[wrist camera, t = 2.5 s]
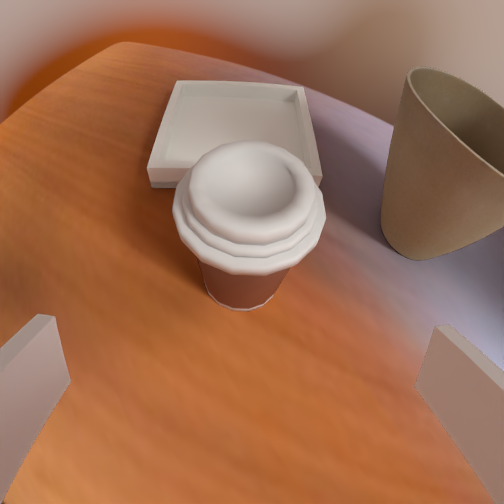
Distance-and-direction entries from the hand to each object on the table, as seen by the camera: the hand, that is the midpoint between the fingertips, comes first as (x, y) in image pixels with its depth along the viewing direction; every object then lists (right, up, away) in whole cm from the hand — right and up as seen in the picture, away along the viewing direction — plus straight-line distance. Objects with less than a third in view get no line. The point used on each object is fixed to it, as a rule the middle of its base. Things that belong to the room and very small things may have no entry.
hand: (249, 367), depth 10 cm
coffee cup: (-1, +1, +18) cm, 18 cm away
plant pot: (+17, +6, +22) cm, 29 cm away
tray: (-2, +17, +27) cm, 32 cm away
